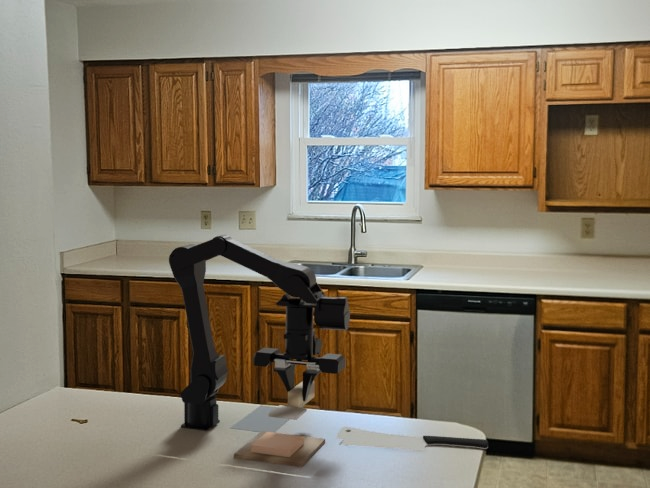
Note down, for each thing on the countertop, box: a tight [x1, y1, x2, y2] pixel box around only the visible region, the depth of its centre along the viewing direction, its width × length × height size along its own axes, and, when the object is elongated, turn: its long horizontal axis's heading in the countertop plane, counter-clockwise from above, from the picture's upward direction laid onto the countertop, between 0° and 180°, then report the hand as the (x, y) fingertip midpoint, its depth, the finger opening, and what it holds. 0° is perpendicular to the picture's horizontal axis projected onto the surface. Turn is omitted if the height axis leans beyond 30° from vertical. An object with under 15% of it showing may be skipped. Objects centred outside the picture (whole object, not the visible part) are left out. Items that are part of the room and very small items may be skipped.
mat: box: [229, 404, 291, 433], centre depth 175 cm, size 10×17×1 cm, turn 162°
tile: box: [251, 432, 305, 458], centre depth 154 cm, size 8×2×8 cm
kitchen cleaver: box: [335, 426, 489, 451], centre depth 160 cm, size 31×2×10 cm
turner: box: [268, 380, 316, 421], centre depth 163 cm, size 6×16×4 cm, turn 162°
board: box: [233, 431, 326, 468], centre depth 156 cm, size 14×14×1 cm
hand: (298, 400), depth 165 cm, fingers closed on turner, 2 cm apart
